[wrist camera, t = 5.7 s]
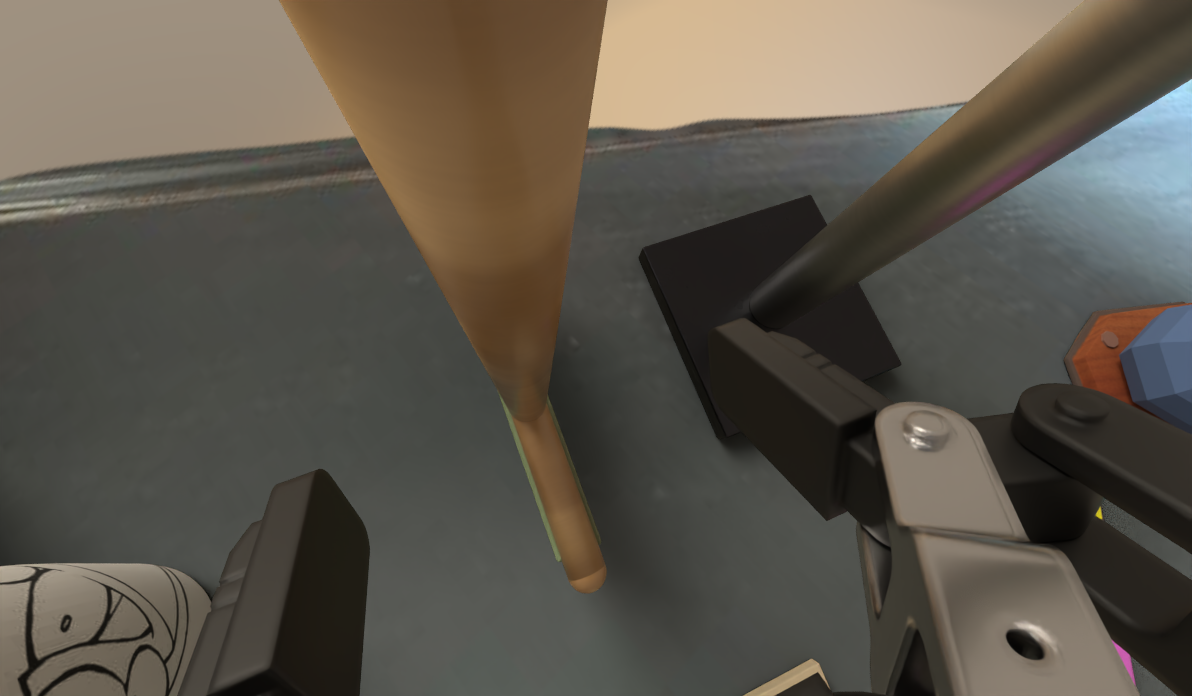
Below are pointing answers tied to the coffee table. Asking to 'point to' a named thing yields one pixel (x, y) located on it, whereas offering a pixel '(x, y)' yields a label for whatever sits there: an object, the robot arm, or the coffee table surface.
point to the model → (1139, 359)
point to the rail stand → (915, 194)
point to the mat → (788, 679)
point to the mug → (97, 629)
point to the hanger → (482, 186)
